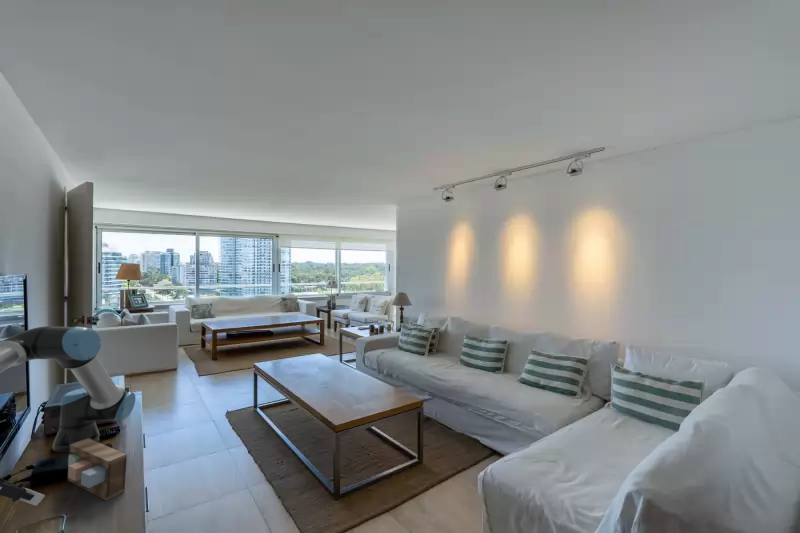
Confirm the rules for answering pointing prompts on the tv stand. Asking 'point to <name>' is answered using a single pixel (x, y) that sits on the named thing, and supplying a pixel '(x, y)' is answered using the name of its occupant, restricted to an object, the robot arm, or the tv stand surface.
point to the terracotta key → (78, 469)
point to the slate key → (93, 476)
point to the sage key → (73, 459)
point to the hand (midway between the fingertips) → (39, 499)
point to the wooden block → (109, 460)
